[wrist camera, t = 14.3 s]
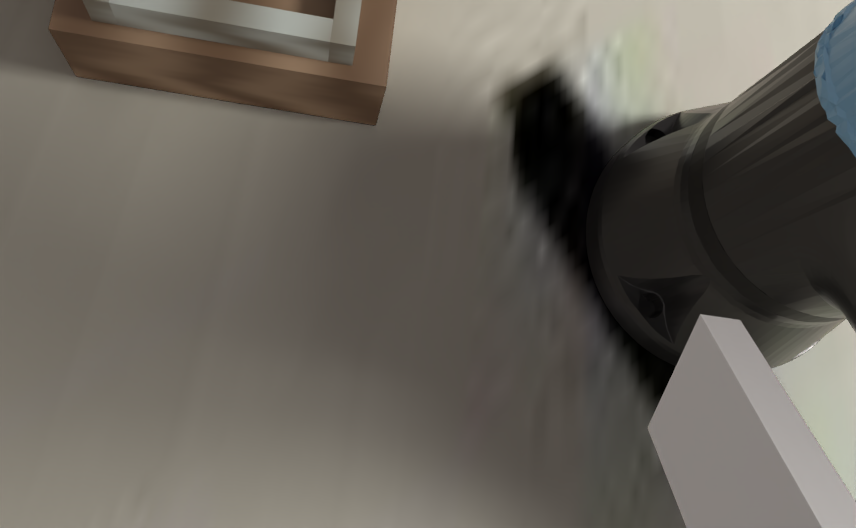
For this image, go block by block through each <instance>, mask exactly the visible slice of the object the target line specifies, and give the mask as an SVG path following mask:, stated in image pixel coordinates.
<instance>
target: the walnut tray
mask: <svg viewBox="0 0 856 528" xmlns="http://www.w3.org/2000/svg"><path fill="white" fill-rule="evenodd" d="M396 5H397V0H55V3H54V7H53V11H52V16H51V20H50V24H49V28H48V29H49V31H50V33H51V34H52V36H53V38H54V39H55V41H56V43H57V45H58V46H59V48H60V50H61V51H62V53H63V55H64V57H65V58H66V60H67V62H68V63H69V65H70V67H71V68H72V70H73V72H74V74H75V75H76V76H77V77H83V78H89V79H95V80H102V81H108V82H114V83H120V84H126V85H132V86H138V87H144V88H150V89H156V90H163V91H169V92H175V93H181V94H187V95H193V96H199V97H205V98H211V99H217V100H224V101H230V102H236V103H242V104H248V105H254V106H260V107H266V108H272V109H278V110H285V111H291V112H297V113H303V114H309V115H315V116H321V117H327V118H333V119H339V120H346V121H352V122H358V123H364V124H370V125H376V123H377V119H378V115H379V112H380V108H381V104H382V101H383V97H384V93H385V90H386V85H387V77H388V69H389V61H390V53H391V45H392V37H393V29H394V21H395V13H396Z"/></svg>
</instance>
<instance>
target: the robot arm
mask: <svg viewBox="0 0 856 528" xmlns="http://www.w3.org/2000/svg"><path fill="white" fill-rule="evenodd" d="M586 247H587V255H588V260H589V265H590V268H591V272H592V275H593V278H594V281H595V284H596V286H597V288H598V291H599V293H600V295H601V297H602V299H603V301H604V303H605V304H606V306H607V308H608V309H609V311H610V312H611V314H612V315H613V317H614V318H615V319H616V321H617V322H618V323H619V324H620V326H621V327H622V328H623V329H624V330H625V331H626V332H627V333H628V334H629V335H630V336H631V337H632V338H633V339H634V340H635V341H636V342H637V343H638V344H640V345H641V346H642V347H643V348H645V349H646V350H647V351H649V352H650V353H652V354H653V355H655V356H657V357H658V358H660V359H662V360H664V361H666V362H668V363H670V364H672V365H674V366H676V367H675V369H674V372H673V374H672V376H671V378H670V380H669V382H668V384H667V387H666V389H665V391H664V393H663V395H662V397H661V399H660V402H659V404H658V406H657V408H656V410H655V412H654V415H653V417H652V419H651V421H650V423H649V425H648V427H647V428H648V431H649V433H650V436H651V438H652V441H653V444H654V446H655V449H656V451H657V454H658V456H659V459H660V461H661V464H662V467H663V469H664V472H665V474H666V477H667V479H668V482H669V484H670V487H671V490H672V492H673V495H674V497H675V500H676V502H677V505H678V507H679V510H680V513H681V515H682V518H683V520H684V523H685V525H686V528H856V501H855V499H854V498H853V496H852V495H851V493H850V492H849V490H848V488H847V487H846V485H845V484H844V482H843V481H842V479H841V477H840V476H839V474H838V473H837V471H836V470H835V468H834V466H833V465H832V463H831V462H830V460H829V459H828V457H827V455H826V454H825V452H824V451H823V449H822V448H821V446H820V444H819V443H818V441H817V440H816V438H815V437H814V435H813V433H812V432H811V430H810V429H809V427H808V426H807V424H806V422H805V421H804V419H803V418H802V416H801V415H800V413H799V411H798V410H797V408H796V407H795V405H794V404H793V402H792V400H791V399H790V397H789V396H788V394H787V393H786V391H785V389H784V388H783V386H782V385H781V383H780V382H779V380H778V378H777V377H776V375H775V374H774V372H773V371H772V369H771V368H775V367H777V366H780V365H783V364H785V363H787V362H789V361H792V360H794V359H796V358H797V357H799V356H801V355H802V354H804V353H805V352H807V351H808V350H810V349H811V348H812V347H813V346H815V345H816V344H817V343H818V342H819V341H820V340H821V339H822V338H823V337H824V336H825V335H826V334H828V333H829V332H830V331H832V330H833V329H834V328H835V327H837V326H838V325H839V324H840V323H841V322H843V321H844V320H845V319H846V318H847V320H848V321H849V323H850V325H851V326H852V328H853V329H854V331H855V332H856V0H854V1H853V2H851V3H850V4H848V5H847V6H846V7H845V8H844V9H842V10H841V11H840V12H839V13H838V14H837V15H836V16H835V18H834V20H833V21H832V22H831V23H830V24H829V26H828V27H827V28H826V29H825V30H824V31H823V32H822V33H820V34H819V35H818V36H817V37H815V38H814V39H813V40H811V41H810V42H809V43H807V44H806V45H805V46H804V47H802V48H801V49H800V50H798V51H797V52H796V53H795V54H793V55H792V56H791V57H789V58H788V59H787V60H786V61H784V62H783V63H782V64H780V65H779V66H778V67H776V68H775V69H774V70H773V71H771V72H770V73H769V74H767V75H766V76H764V77H763V78H762V79H760V80H759V81H758V82H756V83H755V84H754V85H752V86H751V87H750V88H748V89H747V90H746V91H744V92H743V93H742V94H740V95H739V96H738V97H737V98H736V99H734V100H733V101H732V102H728V103H723V104H718V105H712V106H707V107H702V108H697V109H691V110H687V111H682V112H679V113H676V114H673V115H670V116H668V117H665V118H663V119H661V120H659V121H657V122H655V123H653V124H651V125H650V126H648V127H647V128H645V129H644V130H642V131H641V132H640V133H639V134H637V135H636V136H635V137H634V138H633V139H631V140H630V141H629V142H628V143H627V144H626V145H625V146H623V147H622V148H621V149H620V150H619V151H618V152H617V153H616V154H615V155H614V156H613V157H612V159H611V160H610V161H609V162H608V164H607V165H606V167H605V168H604V170H603V171H602V173H601V175H600V176H599V178H598V180H597V182H596V185H595V187H594V189H593V192H592V195H591V198H590V202H589V206H588V212H587V219H586Z"/></svg>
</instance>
